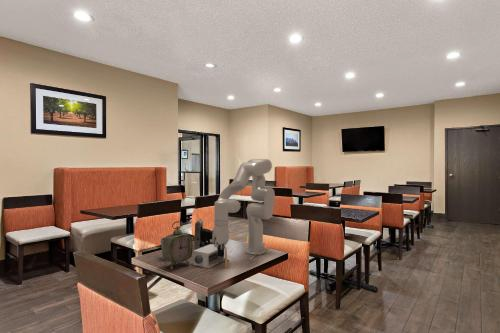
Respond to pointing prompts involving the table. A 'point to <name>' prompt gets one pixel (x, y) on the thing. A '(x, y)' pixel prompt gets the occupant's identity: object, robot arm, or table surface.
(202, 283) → the table surface
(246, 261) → the table surface
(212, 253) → the camera housing
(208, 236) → the vintage camera
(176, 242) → the tabletop clock
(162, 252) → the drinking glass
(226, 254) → the side door
